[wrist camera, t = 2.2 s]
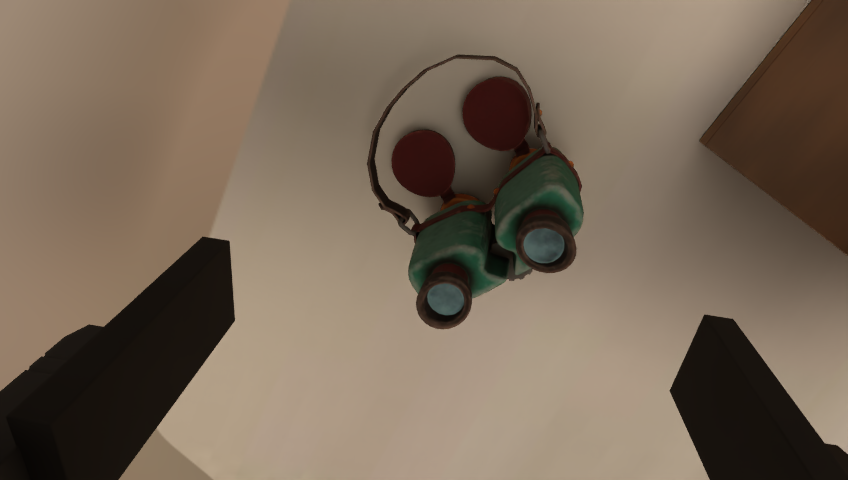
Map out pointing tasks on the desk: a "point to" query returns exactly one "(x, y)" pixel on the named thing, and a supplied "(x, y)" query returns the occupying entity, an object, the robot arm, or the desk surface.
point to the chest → (796, 122)
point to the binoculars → (470, 218)
